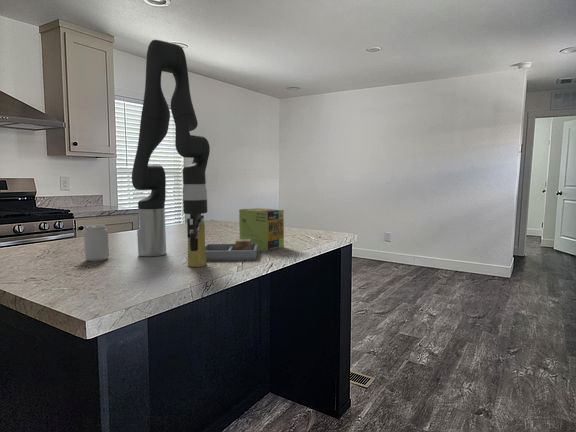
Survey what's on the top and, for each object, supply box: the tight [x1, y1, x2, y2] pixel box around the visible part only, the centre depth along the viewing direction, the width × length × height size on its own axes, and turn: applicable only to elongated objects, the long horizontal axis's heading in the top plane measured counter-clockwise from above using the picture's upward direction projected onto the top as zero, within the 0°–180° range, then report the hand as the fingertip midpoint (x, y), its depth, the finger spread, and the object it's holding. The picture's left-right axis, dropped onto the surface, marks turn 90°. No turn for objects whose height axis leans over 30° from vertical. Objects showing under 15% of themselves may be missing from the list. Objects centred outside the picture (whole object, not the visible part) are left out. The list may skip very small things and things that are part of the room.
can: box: [83, 224, 110, 262], centre depth 136 cm, size 8×8×12 cm
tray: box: [205, 243, 259, 262], centre depth 141 cm, size 20×15×3 cm
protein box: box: [238, 207, 285, 252], centre depth 158 cm, size 10×15×16 cm
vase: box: [187, 220, 208, 268], centre depth 126 cm, size 6×6×14 cm
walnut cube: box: [234, 238, 251, 250], centre depth 141 cm, size 5×5×5 cm
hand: (196, 248), depth 126 cm, fingers open, 8 cm apart
